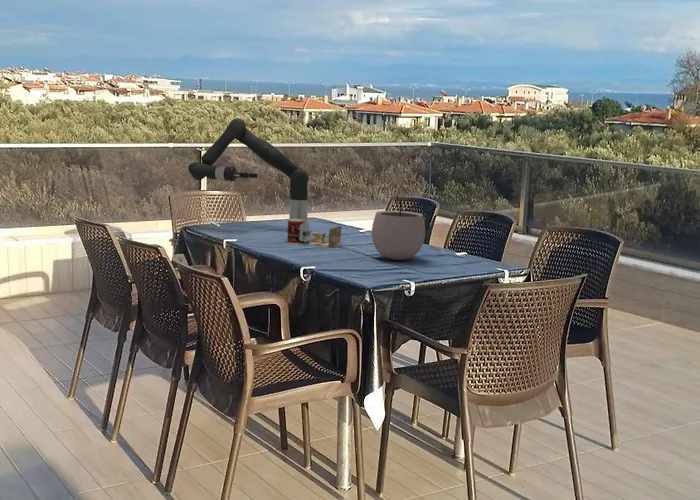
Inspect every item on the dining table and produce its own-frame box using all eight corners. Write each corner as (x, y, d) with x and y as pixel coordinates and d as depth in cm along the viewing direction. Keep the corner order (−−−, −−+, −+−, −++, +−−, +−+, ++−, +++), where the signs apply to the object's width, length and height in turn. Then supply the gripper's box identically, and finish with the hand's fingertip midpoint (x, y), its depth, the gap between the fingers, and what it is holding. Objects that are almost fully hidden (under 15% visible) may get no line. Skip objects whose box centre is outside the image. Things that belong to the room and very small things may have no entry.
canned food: (284, 242, 400) (285, 219, 398) (290, 240, 407) (291, 218, 405) (299, 243, 398) (300, 221, 396) (305, 241, 405) (306, 219, 403)
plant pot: (415, 255, 382) (420, 191, 377) (429, 264, 358) (434, 196, 354) (365, 254, 377) (369, 189, 373) (376, 263, 354) (380, 194, 349)
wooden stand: (289, 243, 395) (290, 225, 394) (300, 239, 409) (300, 222, 408) (332, 248, 389) (333, 229, 388) (341, 243, 404) (342, 225, 402)
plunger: (299, 240, 397) (300, 224, 395) (305, 238, 405) (306, 222, 404) (323, 243, 393) (324, 226, 392) (329, 240, 402) (329, 224, 401)
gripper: (220, 166, 414) (252, 169, 409) (231, 165, 426) (262, 167, 421) (220, 181, 415) (251, 184, 410) (231, 180, 427) (261, 182, 423)
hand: (257, 175), depth 416 cm, fingers closed
